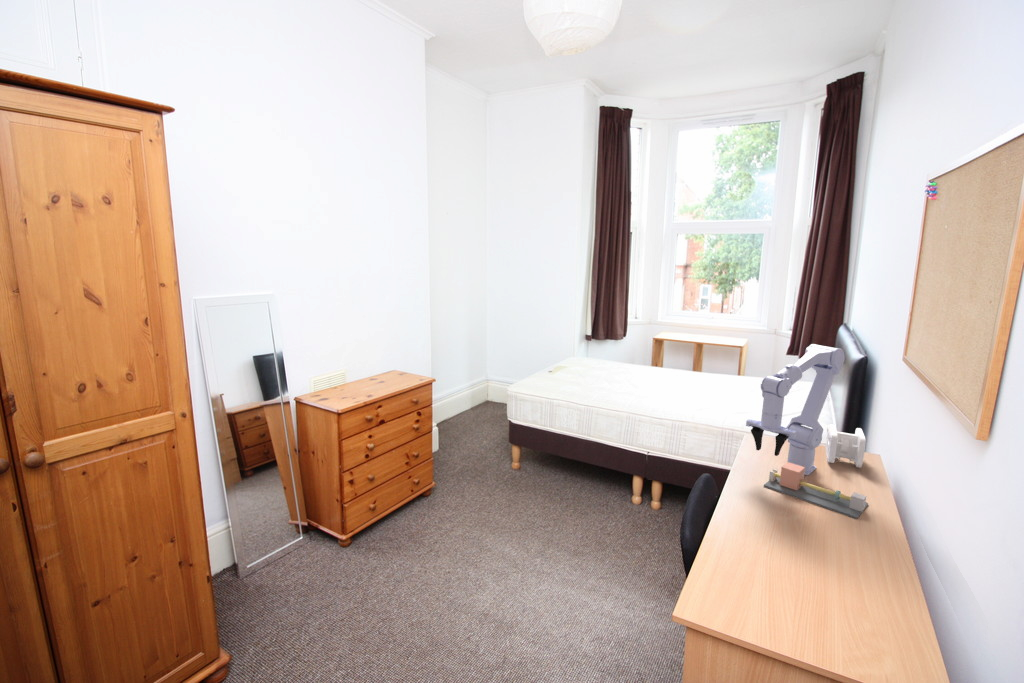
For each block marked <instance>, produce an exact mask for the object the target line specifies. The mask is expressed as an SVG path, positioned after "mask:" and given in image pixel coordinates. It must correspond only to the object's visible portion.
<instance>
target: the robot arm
mask: <svg viewBox="0 0 1024 683" xmlns="http://www.w3.org/2000/svg"><path fill="white" fill-rule="evenodd" d="M845 357H846V356H845V352H844V350H843V348H840V347H832V346H827V345H820V344H817V343H811V344H809V346H807V347H806V349H805V351H804V355H803V356H802V357H801V358H799V359H798V360H797V361H796V362H795V363H794V364H787V365H785V366H784V367H783V368H781V369H780V370H779V371H777V372H776V373H775V374H774V375H767V376H766V377H763V379H762V381H761V383H760V389H761V391H762V393H761V397H762V398H763V401H762V402H763V403H762V410H761V411H762V412H761V419H760V420H753V419H747V420H745V422H746V423H745V426H746V427H751V429H750V433H751V435H752V438H753V439H754V443H755V450H756V451H760V450H761V449H762V442H763V435H764V431H765V432H771V433H775V434H777V435H775V449H774V456H775V457H778V456H779V455H780V453H781V450H782V448H783V446H784V444H785V443H786V441H787V443H789V447H788V455H787V462H786V463H788V462H789V463H793V464H796V465H799V466H803V467H805V473H804V476H810V475H811V473H813V472H814V471H815V470H816V469H817V466H816V465H815V457H816V456H815V455H816V448H817V447H819V446H820V445H821V444H822V443H821V442H822V441H823V432H824V428H823V427H822V425H821V424H820V422H819V421H818V420H819V418H820V415H821V413H822V410H823V407H824V405H825V402H826V399H827V398H828V395H829V392H830V390H831V387H832V385H833V382H834V379H835V377H836V375H839V374H840V372H841V370H842V368H843V364H844V362H845V359H846V358H845ZM811 368H812V370H814V371H815V372H816V375H815V377H814V380H813V382H812V385H811V387H810V390H809V393H808V395H807V398H806V401H805V402H804V406H803V408H802V411H801V413H800V415H798V416H795V417H792V418H791V419H790V422H789V423H788V424H787V425H786V427H785V426H782V419H783V409H784V402H785V401H784V400H785V397H786V396H787V395H788V394H789V392H790V389H792V387H793V385H795V384H796V383H797V382H798V381H800V380H801V379H802V378H803V373H804V372H806V371H808V370H809V369H811Z"/></svg>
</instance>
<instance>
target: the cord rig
mask: <svg viewBox="0 0 1024 683" xmlns="http://www.w3.org/2000/svg"><path fill="white" fill-rule="evenodd" d="M768 476H769V477H768V481H767V482H766V483H764V484H763V488H767V489H770V490H772V489H773V490H772V491H776V492H779V493H782V494H784V495H788V496H789V497H793V498H796V499H797V500H798V499H799V500H800V501H801V500H802V501H803V502H806V503H810V504H812V505H815V506H819V507H822V508H824V509H827V510H831V511H833V512H836V513H838V514H841V515H844V516H848V517H850V518H852V519H855V520H858V519H859V517H860V516H861V515H862V514H863V512H864V511H865V510H866V508H867V507H868V506H869V503H868V501H867V496H866V495H865V494H861V493H858V492H856V491H854V492H853V493H852V494H851V495H850V496H848V495H845V494H842V493H841V490H836V491H834V490H830V489H827V488H824V487H821V486H817V485H815V484H813V483H808V482H805V481H804V480H803V481H800V485H802V486H801V487H800V488H799V489H798V490H797V491H796V490H793V489H791V488H788V487H785V486H782V485H780V477H781V473H778V469H776V468H772V470H770V471H769V475H768ZM866 501H867V502H866Z"/></svg>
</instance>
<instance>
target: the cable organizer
mask: <svg viewBox="0 0 1024 683" xmlns="http://www.w3.org/2000/svg"><path fill="white" fill-rule="evenodd" d="M826 432H827V435H826V441H825V447H824V448H825V455H826V460H827V462H828V463H831V464H834V463H835V461H836V459H837V460H839V461H840V460H841V458H843V459H848V460H849V462H854V465H855V468H862V467H863V464H864V457H865V450H866V443H867V440H866V436H865V433H864V431H863V429H862V428H861V427H856V428H855V431H854V433H848V432H842V431H837V426H836V425H835V424H828V425H827V428H826Z"/></svg>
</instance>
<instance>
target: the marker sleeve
mask: <svg viewBox="0 0 1024 683" xmlns="http://www.w3.org/2000/svg"><path fill="white" fill-rule="evenodd" d="M780 470H781V471H780V474H781V477H780V485H782V486H785V487H788V488H791V489H793V490H796V491H797V490H798V489H799V488H800V487H801V486H802V485H800V481H803V482H804V480H805V475H804V473H805V467H803V466H799V465H796V464H793V463H789V462H788V463H787V462H786V463H785V464H784V465H782V466H781V469H780Z"/></svg>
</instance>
